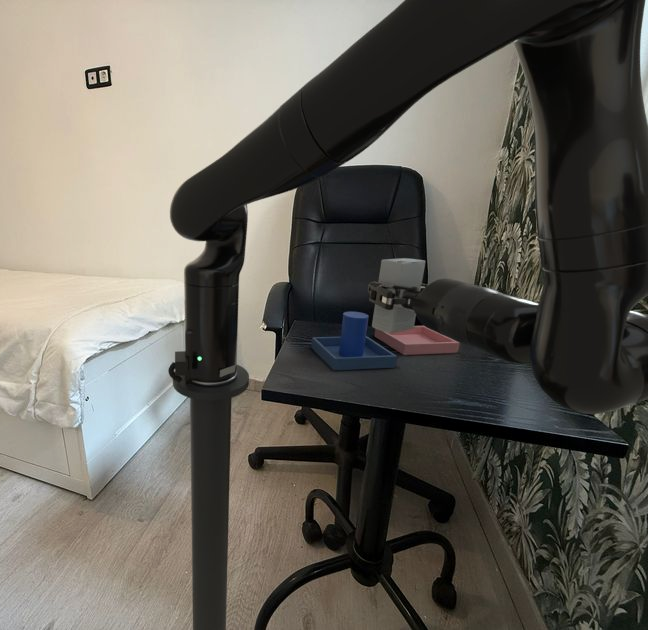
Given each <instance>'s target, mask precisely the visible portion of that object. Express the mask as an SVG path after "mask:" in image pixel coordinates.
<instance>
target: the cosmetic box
mask: <svg viewBox="0 0 648 630" xmlns="http://www.w3.org/2000/svg"><path fill="white" fill-rule="evenodd" d="M425 267H426V260H424V259H423V260H422V259H417V258H408V257H407V258H406V257H403V258H402V257H401V258H388V259H381V261H380V269H379V276H378V281H377V282H378V283H381V284H385V285H388V286H394V285H398V284H401V285H407V286H421V284H422V283H423V280H424V279H423V278H424V273H425ZM389 291H391V290H389ZM404 291H405V290H402V289H401V290H400V296H399V297H402V295H403V292H404ZM416 317H417V315H416V313H414V312H409V311H408V310H407V309H403V308H398V307H393V310H387V309H384V308H383V307H381V306H379V305H377V304H375V303H374V309H373V315H372V323H371V327H372V328H373V329H374V330H375V329H378V330H381V331H383V332H387V333H396V332H401V331H405V330H410V329H413V328H414V326H415V323H416Z"/></svg>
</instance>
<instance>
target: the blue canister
mask: <svg viewBox="0 0 648 630" xmlns="http://www.w3.org/2000/svg"><path fill="white" fill-rule="evenodd" d="M369 317H370V316H369V315H368V314H367V313H364V312H359V311H344V312H343V313H342V321H341V331H340V337H341V338H340V347H339V355H340V356H342V357H362V356H363V354H364V347H365V340H366V336H367V332H368V331H367V330H368V323H369Z"/></svg>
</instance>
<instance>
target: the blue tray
mask: <svg viewBox="0 0 648 630" xmlns="http://www.w3.org/2000/svg"><path fill="white" fill-rule="evenodd" d="M340 338H341V336H321V337H320V336H319V337H318V336H316V337H311V346H310V347H311V349H312V351H314V352H315V353H316V354H317V355H318V356H319V357H320V358H321V359H322V361H323V362H325V364H327V366H329V367H330V368H331V370H333V371H348V370H349V371H351V370H352V371H353V370H371V369H373V370H374V369H392V368H394V369H395V368H396V366H397V360H398V355H396V354H394V352H391V351H390V350H388V349H387V348H386V347H384V346H382V345H381V344H379V343H378V342H376V341H375V340H373V339H372V338H370V337H369V336H367V335H366V340H365V347H364V354H363V356H362V357H342V356H340V355H339V347H340Z"/></svg>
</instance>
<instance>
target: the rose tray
mask: <svg viewBox="0 0 648 630" xmlns="http://www.w3.org/2000/svg"><path fill="white" fill-rule="evenodd" d="M374 338H376V339H378V340H379V341H381V342H383V343H384V344H386V345H387V346H389V347H391V348H392V349H394V350H395V351H397V352H399V353H400V354H401V355H403V356H409V355H411V356H412V355H413V356H414V355H415V356H416V355H435V354H436V355H437V354H457V353H458V352H459V347H460V343H459V342H457V341H455V340H453V339H450V338H448V337H446V336H444V335H442V334H440V333H437V332H435V331H433V330H431V329H429V328H427V327H425V326H424V325H414V328H413V329H410V330H405V331H401V332H396V333H387V332H383V331H381V330H378V329H375V328H374Z"/></svg>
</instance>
